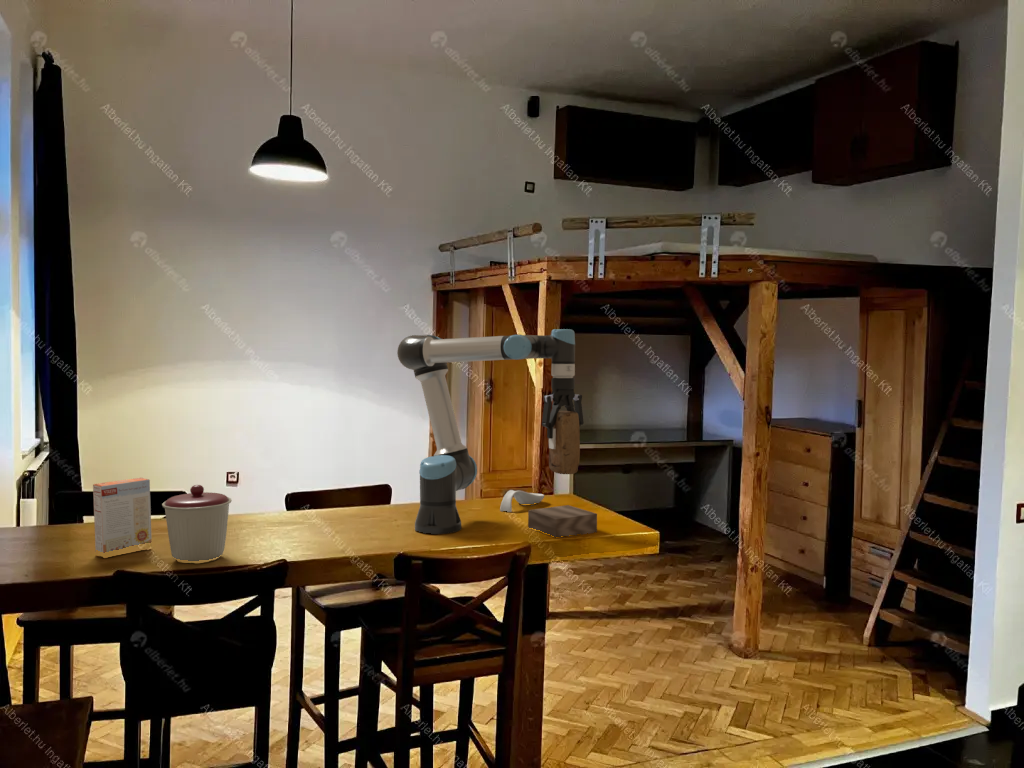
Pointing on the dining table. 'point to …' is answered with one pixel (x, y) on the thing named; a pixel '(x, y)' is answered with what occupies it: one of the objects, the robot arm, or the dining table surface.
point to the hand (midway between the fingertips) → (562, 447)
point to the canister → (197, 524)
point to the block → (566, 444)
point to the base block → (562, 521)
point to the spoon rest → (519, 499)
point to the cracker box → (122, 514)
